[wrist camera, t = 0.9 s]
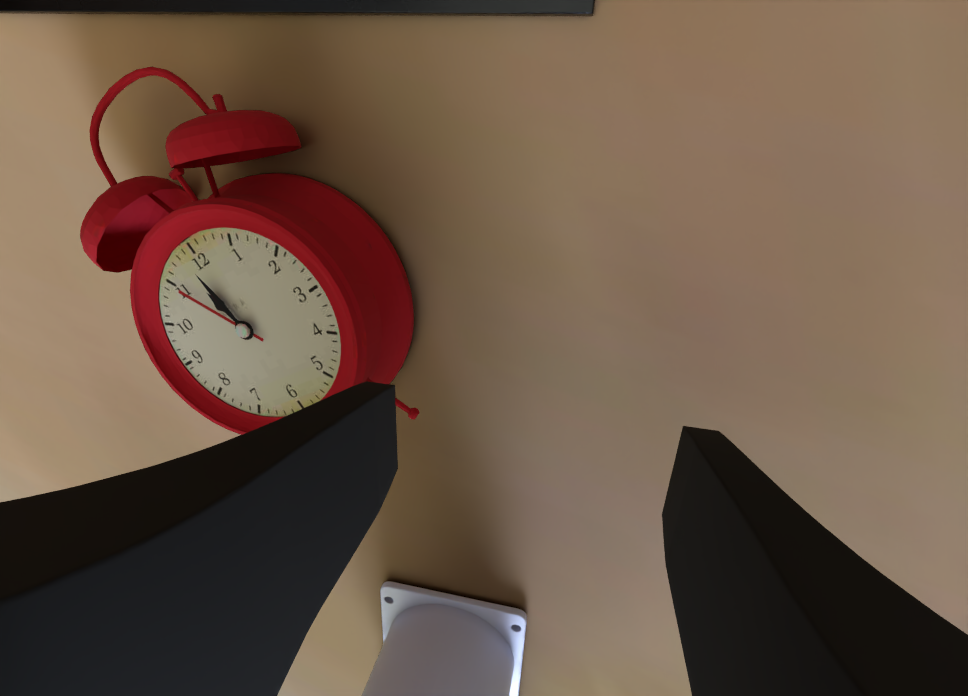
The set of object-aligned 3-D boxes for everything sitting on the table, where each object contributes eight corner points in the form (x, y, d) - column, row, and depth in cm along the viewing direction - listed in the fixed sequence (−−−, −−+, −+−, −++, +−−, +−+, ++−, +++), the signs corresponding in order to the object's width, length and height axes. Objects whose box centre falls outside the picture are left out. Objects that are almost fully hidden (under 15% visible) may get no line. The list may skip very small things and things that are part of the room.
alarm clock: (257, 501, 22) (-104, 210, 15) (311, 406, 27) (60, 158, 20) (453, 419, 18) (85, -18, 11) (472, 327, 23) (227, -11, 16)
